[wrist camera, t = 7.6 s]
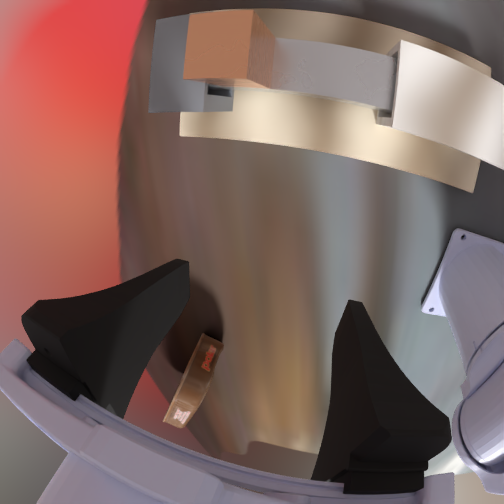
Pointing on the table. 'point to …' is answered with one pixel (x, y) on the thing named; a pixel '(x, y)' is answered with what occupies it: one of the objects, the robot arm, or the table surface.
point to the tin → (194, 382)
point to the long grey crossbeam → (283, 62)
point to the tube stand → (373, 121)
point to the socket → (179, 74)
